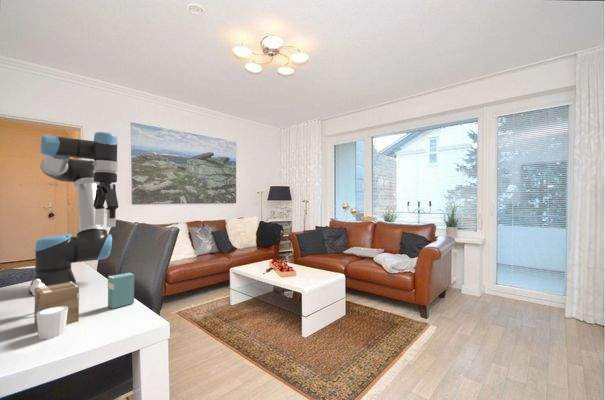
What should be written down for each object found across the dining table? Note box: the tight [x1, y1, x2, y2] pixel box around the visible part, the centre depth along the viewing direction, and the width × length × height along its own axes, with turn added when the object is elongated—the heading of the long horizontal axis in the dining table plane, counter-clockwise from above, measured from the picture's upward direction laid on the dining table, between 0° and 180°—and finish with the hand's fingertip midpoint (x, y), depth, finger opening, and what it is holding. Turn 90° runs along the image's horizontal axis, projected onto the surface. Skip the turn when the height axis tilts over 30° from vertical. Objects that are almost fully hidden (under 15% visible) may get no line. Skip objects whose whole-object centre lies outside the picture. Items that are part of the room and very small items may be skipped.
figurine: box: [29, 279, 45, 317], centre depth 92 cm, size 7×4×12 cm, turn 45°
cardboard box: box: [34, 281, 80, 329], centre depth 86 cm, size 9×9×11 cm
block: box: [107, 272, 135, 309], centre depth 101 cm, size 5×7×11 cm, turn 142°
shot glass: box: [36, 306, 68, 340], centre depth 79 cm, size 7×7×7 cm
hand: (105, 225), depth 108 cm, fingers open, 13 cm apart
